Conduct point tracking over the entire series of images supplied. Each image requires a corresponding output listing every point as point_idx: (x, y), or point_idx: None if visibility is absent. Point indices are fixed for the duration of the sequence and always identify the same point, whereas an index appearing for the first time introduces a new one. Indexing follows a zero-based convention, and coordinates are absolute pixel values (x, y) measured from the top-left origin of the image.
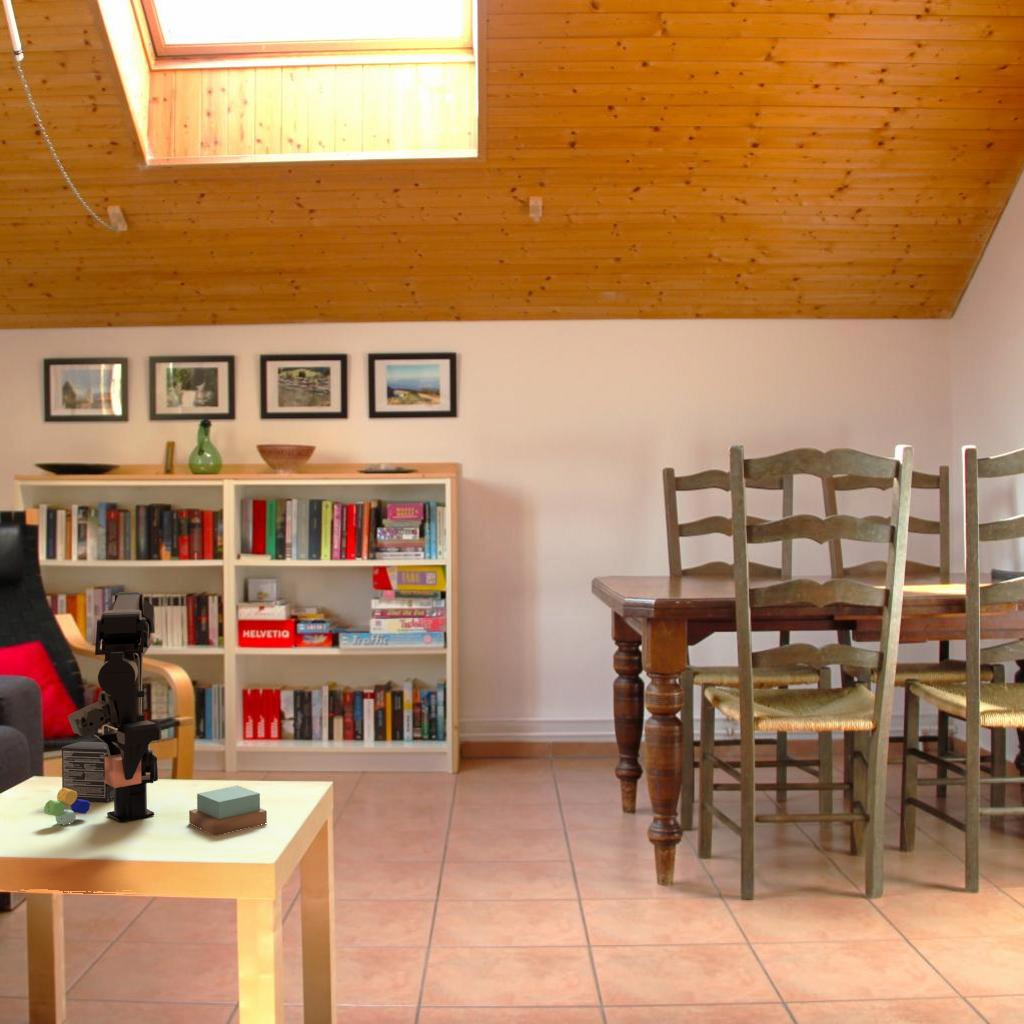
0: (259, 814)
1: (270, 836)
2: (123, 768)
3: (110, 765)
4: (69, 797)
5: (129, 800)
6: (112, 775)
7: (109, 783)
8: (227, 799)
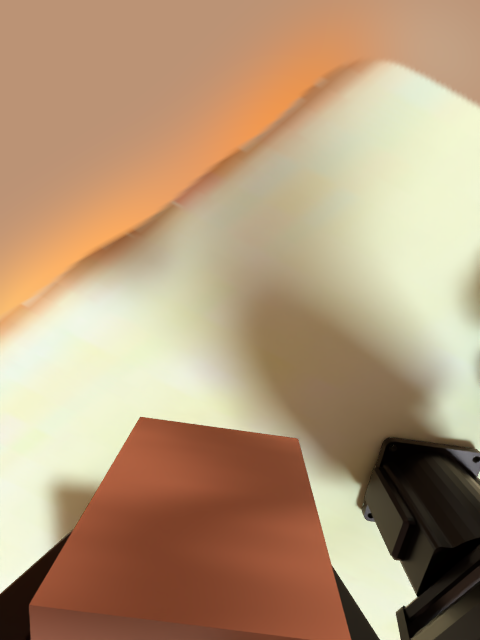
0: None
1: (4, 565)
2: None
3: (180, 546)
4: None
5: (406, 505)
6: (158, 473)
7: (224, 435)
8: None
